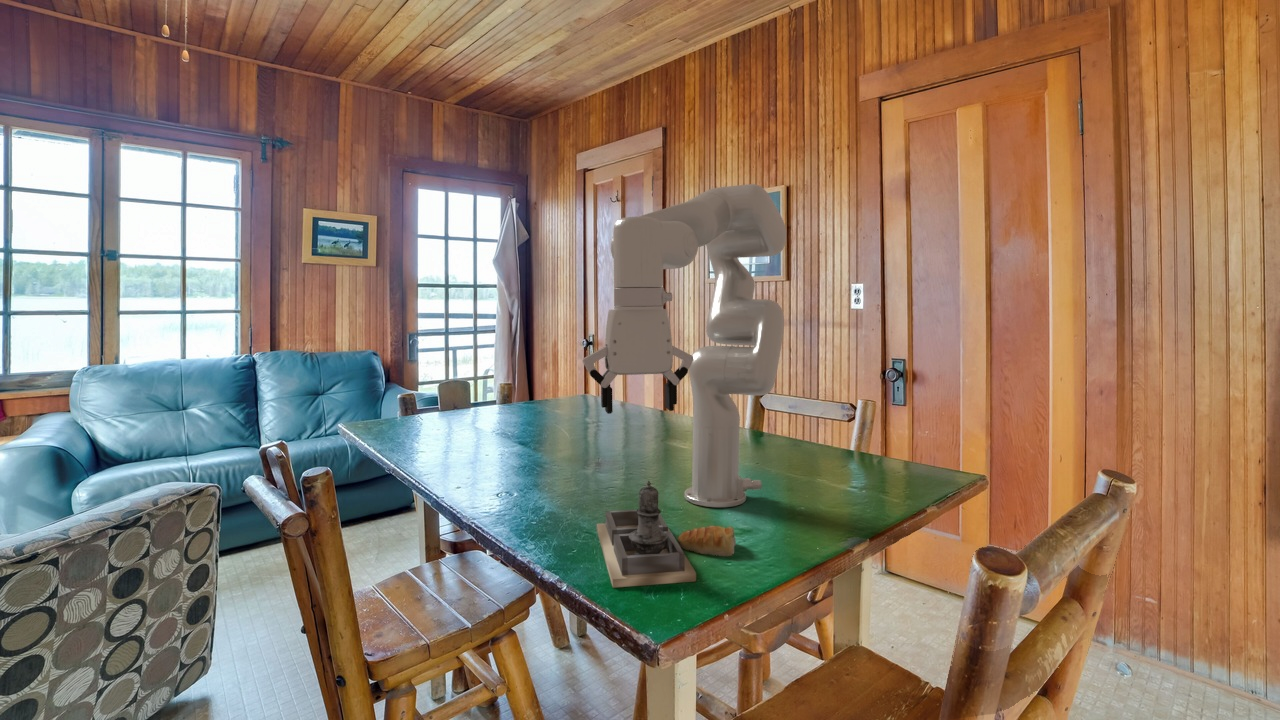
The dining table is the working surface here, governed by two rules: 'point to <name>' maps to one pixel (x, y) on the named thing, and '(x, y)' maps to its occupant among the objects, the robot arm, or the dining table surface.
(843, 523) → the dining table surface
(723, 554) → the pastry
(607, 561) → the collar board
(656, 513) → the salt shaker
